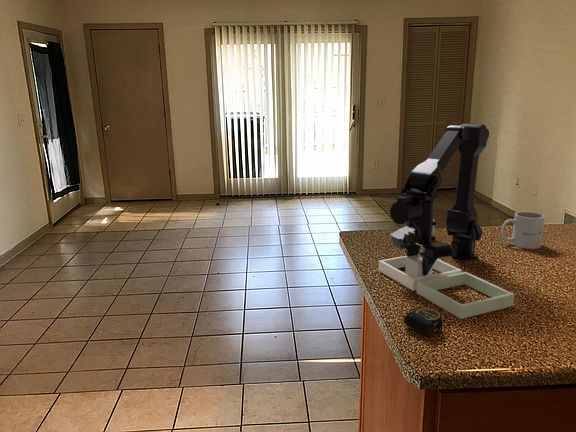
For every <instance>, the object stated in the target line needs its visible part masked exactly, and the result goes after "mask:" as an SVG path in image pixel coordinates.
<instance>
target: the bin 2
mask: <svg viewBox="0 0 576 432" xmlns="http://www.w3.org/2000/svg"><path fill="white" fill-rule="evenodd" d="M463 285H466V286H468V287H469V288H472V289H474V290H476V291H478V292H480V293H482V294H484V295H486V296H488V297H489V298H485V299H480V300H476V301H472V302H466V303H463V304H462V303H461V302H458V301H457V300H455V299H453V298H451V297H450V296H448V295H446V294H444V293H442V292H440V291H439V290H443V289H448V288H453V287H457V286H463ZM416 294H418V295H419V296H421V297H422V298H425V299H426V300H427V301H429V302H431V303H433V304H434V305H437V306H438V307H439V308H441V309H443V310H445V311H446V312H449V313H450V314H452V315H453V316H455V317H457V318H459V319H460V320H463V319H467V318H470V317H471V318H472V317H474V316H475V317H476V316H478V315H483V314H486V313H492V312H494V311H499V310H502V309H506V308H511V307H513V306H514V301H515V300H514V299H515V293H512V292H510V291H508V290H507V289H504V288H502V287H500V286H498V285H495V284H493V283H492V282H489V281H487V280H485V279H482V278H480V277H478V276H475V275H473V274H471V273H470V272H466V271H462V273H458V274H453V275H448V276H443V277H438V278H433V279H429V280H424V281H419V282H417V290H416Z"/></svg>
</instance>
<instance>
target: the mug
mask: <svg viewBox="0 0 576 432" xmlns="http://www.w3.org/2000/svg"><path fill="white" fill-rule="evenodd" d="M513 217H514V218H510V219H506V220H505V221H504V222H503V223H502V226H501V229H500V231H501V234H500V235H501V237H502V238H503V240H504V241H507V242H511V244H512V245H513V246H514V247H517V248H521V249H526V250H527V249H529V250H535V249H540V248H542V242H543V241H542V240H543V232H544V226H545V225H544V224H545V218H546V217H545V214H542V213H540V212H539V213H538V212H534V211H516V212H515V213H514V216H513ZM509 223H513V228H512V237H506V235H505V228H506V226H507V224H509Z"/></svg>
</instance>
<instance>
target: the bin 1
mask: <svg viewBox="0 0 576 432" xmlns="http://www.w3.org/2000/svg"><path fill="white" fill-rule="evenodd" d="M418 255H419V254H418ZM406 257H407V255H405V256H404V255H402V256H397V257H392V258H387V259H386V258H385V259H382V260H378V268H377V269H378V270H377V271H378V272H380V273H382V274H383V275H385V276H387V277H389V278H390V279H392V280H394V281H395V282H397V283H398V284H400V285H402V286H403V287H406V288H407V289H409V290H411V291H412V292H413V291H417V282H419V281H424V280H429V279H433V278H438V277H443V276H448V275H453V274H458V273H463V270H462V269H460V268H458V267H456V266H453V265H452V264H449V263H447V262H446V261H443V260H441V259H440V258H438V259H437V260H436V261H435V263H434V264H433V266H432V270H435V271H437V272H439V273H435V274H433V273H432V275H428V276H423V277H418V278H413V277H411V276H409V275H407V274H406V273H405V271H402V270H400V269H401V268H406Z"/></svg>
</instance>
